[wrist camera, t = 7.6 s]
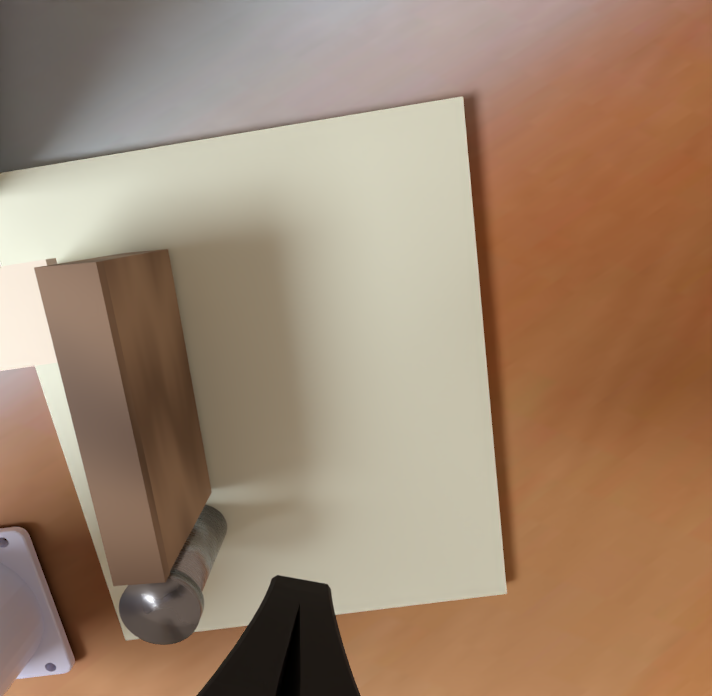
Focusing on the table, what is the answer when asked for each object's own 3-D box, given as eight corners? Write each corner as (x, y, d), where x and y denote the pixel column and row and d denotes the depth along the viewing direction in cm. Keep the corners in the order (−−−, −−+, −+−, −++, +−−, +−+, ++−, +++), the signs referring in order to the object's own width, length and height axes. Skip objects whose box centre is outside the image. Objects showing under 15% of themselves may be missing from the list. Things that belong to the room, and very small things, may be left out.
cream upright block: (78, 332, 20) (-20, 374, 15) (56, 259, 20) (-56, 275, 14) (150, 321, 20) (75, 359, 15) (130, 247, 20) (45, 259, 14)
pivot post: (183, 548, 23) (130, 649, 18) (168, 494, 22) (109, 582, 17) (242, 540, 23) (208, 639, 18) (230, 486, 22) (189, 572, 17)
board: (131, 630, 24) (125, 640, 24) (-16, 178, 19) (-28, 177, 18) (503, 584, 23) (507, 593, 23) (459, 100, 18) (462, 96, 18)
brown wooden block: (212, 491, 21) (165, 582, 16) (173, 495, 21) (113, 586, 16) (169, 249, 19) (95, 262, 13) (124, 253, 19) (33, 267, 13)
